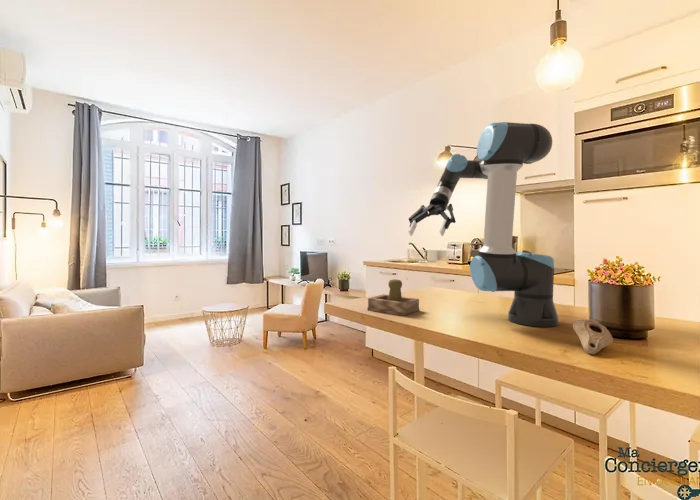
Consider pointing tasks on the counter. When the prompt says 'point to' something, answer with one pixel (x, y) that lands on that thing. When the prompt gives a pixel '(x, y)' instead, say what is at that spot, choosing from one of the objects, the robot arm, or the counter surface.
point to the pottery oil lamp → (592, 335)
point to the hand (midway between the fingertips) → (425, 233)
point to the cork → (395, 290)
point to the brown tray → (393, 305)
